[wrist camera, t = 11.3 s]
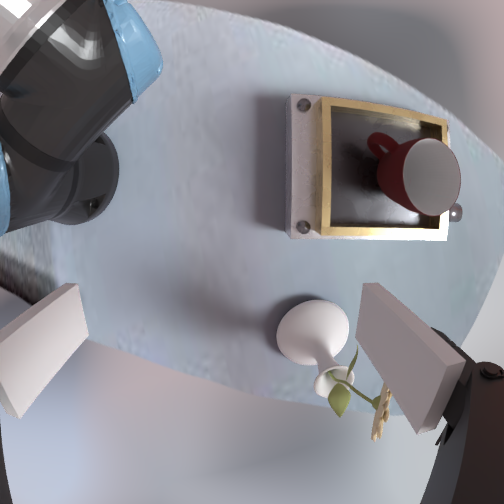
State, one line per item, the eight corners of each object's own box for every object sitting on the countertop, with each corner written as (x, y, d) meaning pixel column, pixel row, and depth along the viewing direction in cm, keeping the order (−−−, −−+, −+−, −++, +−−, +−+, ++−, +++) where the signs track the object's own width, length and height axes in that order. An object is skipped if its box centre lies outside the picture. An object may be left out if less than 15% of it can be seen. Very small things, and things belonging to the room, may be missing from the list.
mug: (335, 171, 34) (368, 169, 24) (366, 120, 32) (405, 104, 23) (396, 218, 35) (440, 232, 26) (423, 169, 34) (470, 170, 24)
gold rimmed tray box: (285, 231, 41) (294, 244, 33) (285, 103, 36) (295, 86, 29) (445, 234, 42) (475, 244, 34) (448, 128, 37) (478, 123, 29)
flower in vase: (326, 364, 46) (373, 482, 22) (264, 348, 45) (280, 480, 21) (362, 298, 44) (450, 398, 19) (297, 275, 42) (356, 386, 18)
